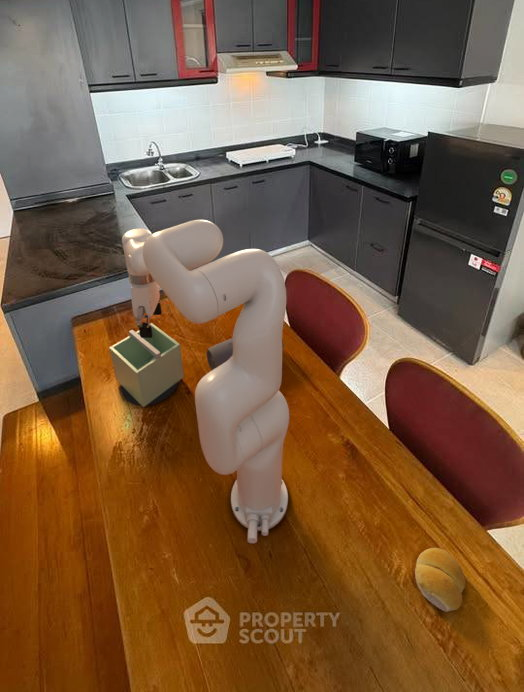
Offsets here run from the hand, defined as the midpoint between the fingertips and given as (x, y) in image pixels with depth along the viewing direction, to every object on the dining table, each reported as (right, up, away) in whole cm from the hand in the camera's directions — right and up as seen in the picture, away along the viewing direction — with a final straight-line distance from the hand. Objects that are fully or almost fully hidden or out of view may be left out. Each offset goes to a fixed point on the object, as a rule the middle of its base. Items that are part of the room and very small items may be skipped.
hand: (151, 325), depth 108 cm
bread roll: (+65, -39, -36) cm, 84 cm away
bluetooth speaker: (+26, -15, +13) cm, 33 cm away
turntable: (-2, -18, +6) cm, 19 cm away
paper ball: (0, -13, +6) cm, 15 cm away
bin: (-2, -17, +5) cm, 18 cm away
